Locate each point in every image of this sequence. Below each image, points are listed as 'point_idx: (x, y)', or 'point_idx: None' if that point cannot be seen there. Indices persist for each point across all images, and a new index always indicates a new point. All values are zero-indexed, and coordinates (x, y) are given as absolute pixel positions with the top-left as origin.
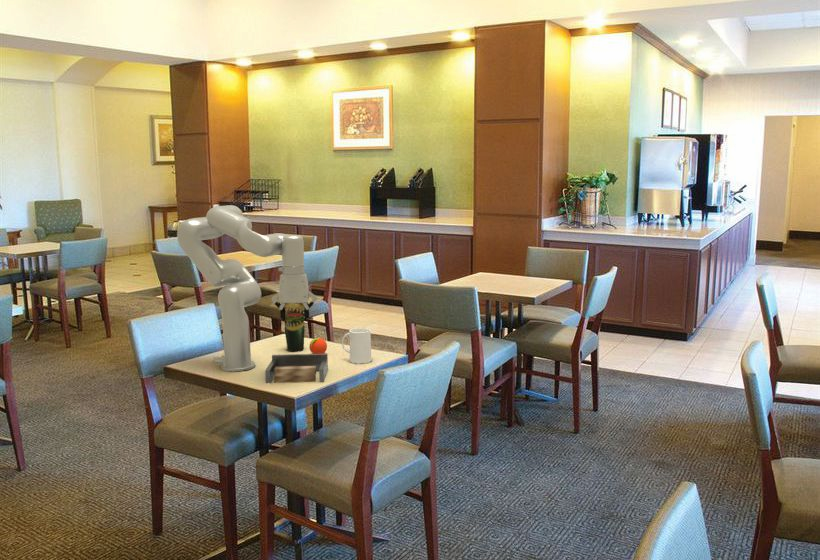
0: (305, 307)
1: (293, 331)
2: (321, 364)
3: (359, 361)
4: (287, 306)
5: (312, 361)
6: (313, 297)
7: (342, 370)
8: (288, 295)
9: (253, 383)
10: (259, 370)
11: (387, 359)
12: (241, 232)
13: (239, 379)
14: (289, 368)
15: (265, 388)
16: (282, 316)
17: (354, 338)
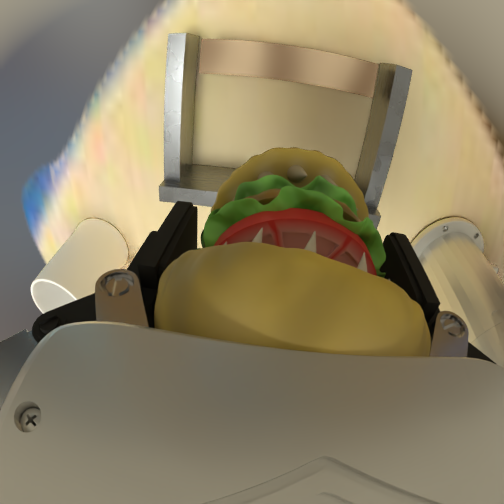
0: (135, 294)
1: None
2: (179, 100)
3: (94, 222)
4: (413, 303)
5: (222, 181)
6: (1, 388)
7: (132, 159)
8: (433, 498)
9: (430, 81)
10: (400, 215)
11: (48, 242)
12: None
13: (463, 141)
14: (316, 55)
15: (393, 12)
16: (414, 257)
17: (71, 272)
